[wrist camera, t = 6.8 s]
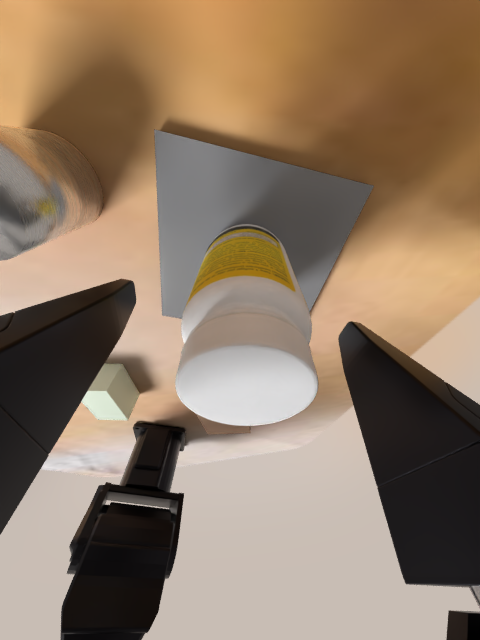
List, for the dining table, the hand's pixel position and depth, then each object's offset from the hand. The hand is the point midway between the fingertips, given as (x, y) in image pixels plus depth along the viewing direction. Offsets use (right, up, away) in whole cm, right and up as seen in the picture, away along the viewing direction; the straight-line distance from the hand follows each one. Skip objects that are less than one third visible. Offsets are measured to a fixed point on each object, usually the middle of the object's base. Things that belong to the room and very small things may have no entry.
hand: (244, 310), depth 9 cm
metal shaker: (-9, +7, +2) cm, 11 cm away
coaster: (0, +3, +4) cm, 5 cm away
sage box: (-13, -6, +12) cm, 19 cm away
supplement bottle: (0, +3, +4) cm, 5 cm away
